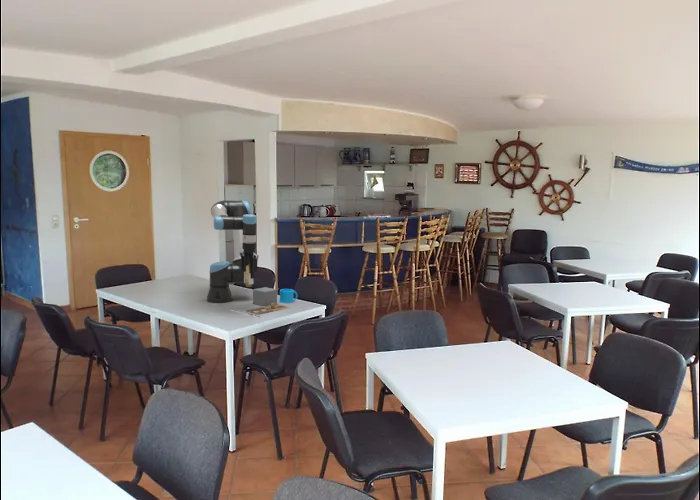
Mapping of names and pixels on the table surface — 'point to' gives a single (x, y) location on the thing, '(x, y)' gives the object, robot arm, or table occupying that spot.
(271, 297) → the block
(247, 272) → the peg
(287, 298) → the mug
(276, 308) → the board
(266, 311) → the build board
